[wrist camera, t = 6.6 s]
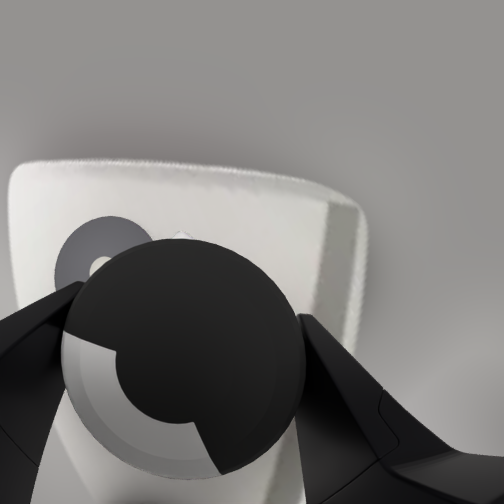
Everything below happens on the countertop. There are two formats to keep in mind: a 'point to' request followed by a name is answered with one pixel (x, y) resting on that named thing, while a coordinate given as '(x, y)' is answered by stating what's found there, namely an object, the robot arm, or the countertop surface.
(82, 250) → the pad
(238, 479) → the countertop surface
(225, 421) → the medicine bottle
